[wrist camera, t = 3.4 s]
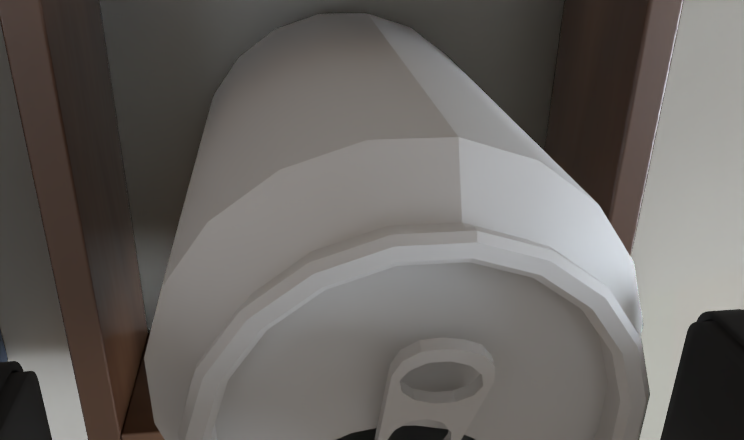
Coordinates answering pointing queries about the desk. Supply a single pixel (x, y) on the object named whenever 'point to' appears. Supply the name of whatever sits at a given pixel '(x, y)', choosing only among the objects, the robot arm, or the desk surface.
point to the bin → (2, 350)
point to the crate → (109, 192)
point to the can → (387, 261)
